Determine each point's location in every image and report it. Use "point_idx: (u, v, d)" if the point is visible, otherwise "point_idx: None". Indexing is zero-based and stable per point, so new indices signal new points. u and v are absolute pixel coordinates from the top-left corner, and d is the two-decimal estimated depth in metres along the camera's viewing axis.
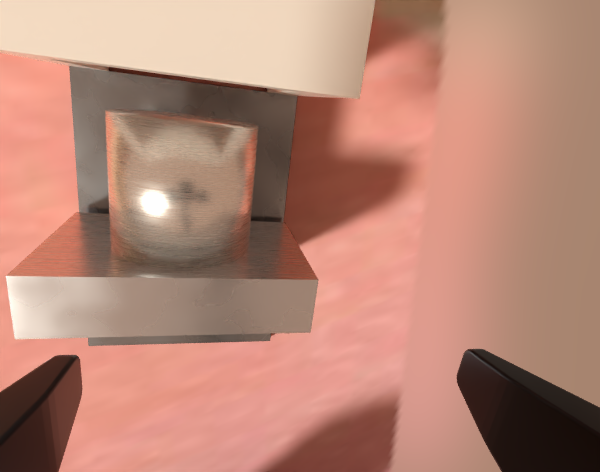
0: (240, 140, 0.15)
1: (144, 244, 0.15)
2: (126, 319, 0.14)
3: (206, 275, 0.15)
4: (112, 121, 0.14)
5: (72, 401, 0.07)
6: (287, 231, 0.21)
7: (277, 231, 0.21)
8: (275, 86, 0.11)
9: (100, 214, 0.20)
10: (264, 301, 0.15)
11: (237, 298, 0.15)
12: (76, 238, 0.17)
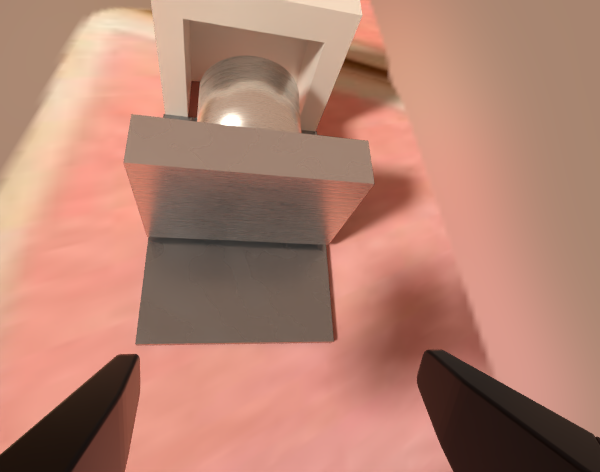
0: (291, 80, 0.22)
1: (229, 124, 0.19)
2: (217, 155, 0.17)
3: (279, 133, 0.18)
4: (208, 71, 0.21)
5: (135, 399, 0.08)
6: None
7: None
8: (314, 6, 0.20)
9: None
10: (329, 153, 0.18)
11: (306, 148, 0.18)
12: None
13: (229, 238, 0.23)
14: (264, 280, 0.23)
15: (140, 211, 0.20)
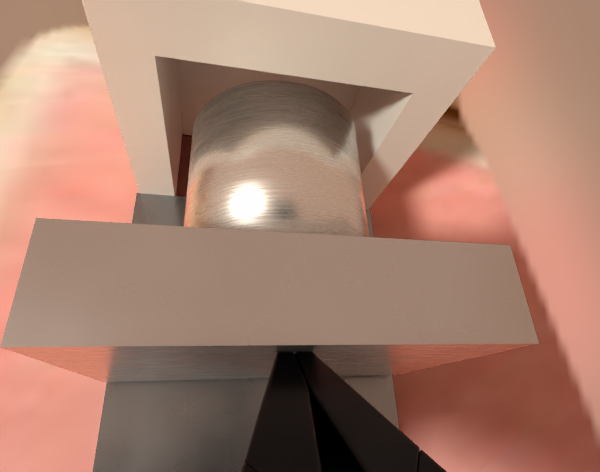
0: (348, 120, 0.13)
1: (246, 216, 0.10)
2: (221, 306, 0.08)
3: (345, 239, 0.09)
4: (208, 108, 0.12)
5: None
6: None
7: None
8: (409, 31, 0.10)
9: None
10: (445, 278, 0.09)
11: (402, 272, 0.09)
12: None
13: (241, 377, 0.14)
14: None
15: (79, 372, 0.10)
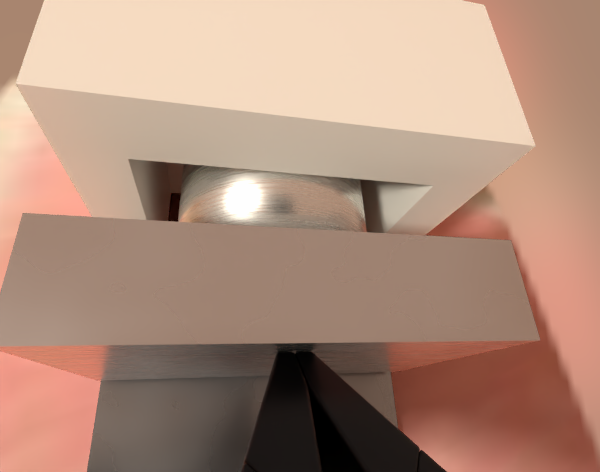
0: None
1: (241, 211, 0.10)
2: (215, 304, 0.07)
3: (342, 234, 0.09)
4: None
5: None
6: None
7: None
8: (434, 133, 0.09)
9: None
10: (444, 274, 0.09)
11: (400, 268, 0.09)
12: None
13: (238, 375, 0.14)
14: None
15: (71, 371, 0.10)
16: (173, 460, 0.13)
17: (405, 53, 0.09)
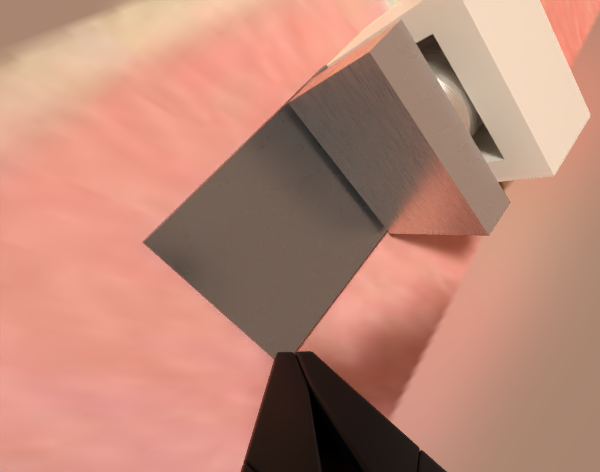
0: None
1: None
2: (424, 112, 0.17)
3: (468, 138, 0.19)
4: None
5: None
6: None
7: None
8: (533, 135, 0.19)
9: None
10: (483, 185, 0.20)
11: (475, 167, 0.19)
12: None
13: (338, 163, 0.24)
14: (277, 277, 0.23)
15: (316, 86, 0.20)
16: (285, 167, 0.23)
17: (551, 100, 0.19)
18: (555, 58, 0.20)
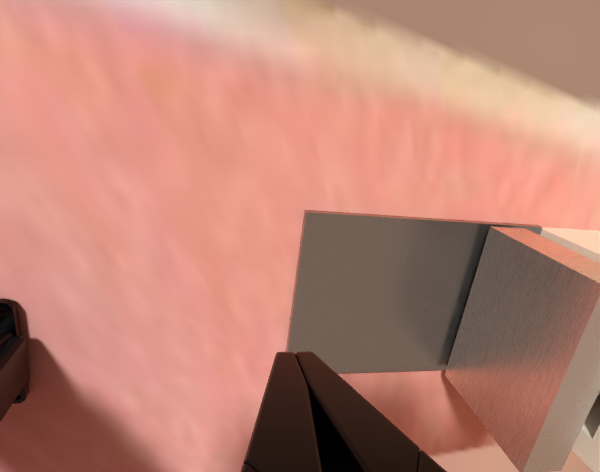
0: None
1: None
2: (585, 357, 0.18)
3: (589, 401, 0.19)
4: None
5: None
6: None
7: None
8: None
9: None
10: (559, 441, 0.20)
11: (569, 425, 0.19)
12: None
13: (471, 297, 0.24)
14: (348, 320, 0.24)
15: (528, 247, 0.20)
16: (436, 261, 0.24)
17: None
18: None
